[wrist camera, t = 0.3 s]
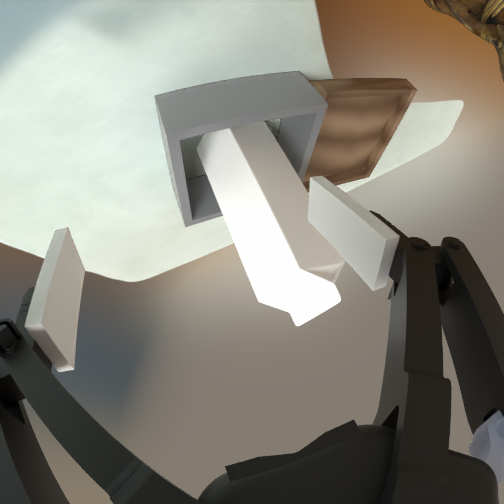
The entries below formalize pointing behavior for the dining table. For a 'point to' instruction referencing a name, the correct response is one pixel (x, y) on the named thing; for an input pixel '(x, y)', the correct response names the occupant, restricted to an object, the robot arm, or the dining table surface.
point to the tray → (356, 126)
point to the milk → (271, 221)
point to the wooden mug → (477, 19)
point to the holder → (232, 115)
